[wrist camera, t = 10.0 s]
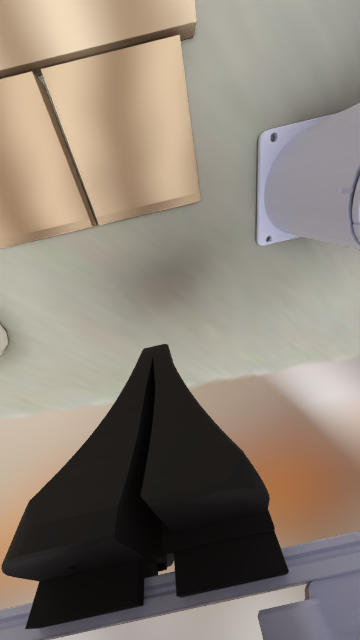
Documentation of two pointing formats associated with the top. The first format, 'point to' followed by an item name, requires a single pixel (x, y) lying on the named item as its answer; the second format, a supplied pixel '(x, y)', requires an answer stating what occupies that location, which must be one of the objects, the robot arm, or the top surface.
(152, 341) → the top surface
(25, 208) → the plank
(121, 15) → the floor board
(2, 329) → the white cup
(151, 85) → the plank
